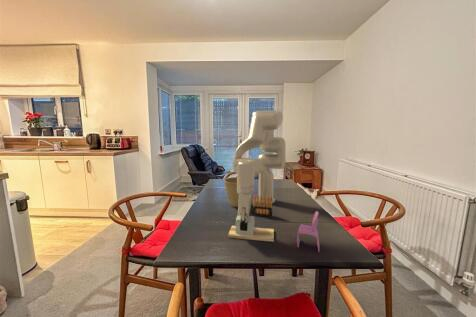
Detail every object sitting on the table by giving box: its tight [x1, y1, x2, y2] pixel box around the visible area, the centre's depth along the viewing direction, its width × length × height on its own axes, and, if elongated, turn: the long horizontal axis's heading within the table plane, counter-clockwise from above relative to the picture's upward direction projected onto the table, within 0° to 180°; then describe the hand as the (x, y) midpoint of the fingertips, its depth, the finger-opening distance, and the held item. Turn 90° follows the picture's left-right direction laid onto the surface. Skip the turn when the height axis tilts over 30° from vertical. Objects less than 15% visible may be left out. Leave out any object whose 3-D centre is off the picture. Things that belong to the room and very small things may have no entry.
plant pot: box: [223, 176, 239, 208], centre depth 130 cm, size 15×15×16 cm
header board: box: [227, 225, 275, 242], centre depth 95 cm, size 9×20×5 cm, turn 81°
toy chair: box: [296, 210, 320, 253], centre depth 85 cm, size 8×9×15 cm
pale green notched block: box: [235, 214, 256, 235], centre depth 95 cm, size 5×8×6 cm, turn 81°
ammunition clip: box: [252, 193, 273, 218], centre depth 115 cm, size 11×2×12 cm, turn 77°
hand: (245, 225), depth 95 cm, fingers open, 9 cm apart
